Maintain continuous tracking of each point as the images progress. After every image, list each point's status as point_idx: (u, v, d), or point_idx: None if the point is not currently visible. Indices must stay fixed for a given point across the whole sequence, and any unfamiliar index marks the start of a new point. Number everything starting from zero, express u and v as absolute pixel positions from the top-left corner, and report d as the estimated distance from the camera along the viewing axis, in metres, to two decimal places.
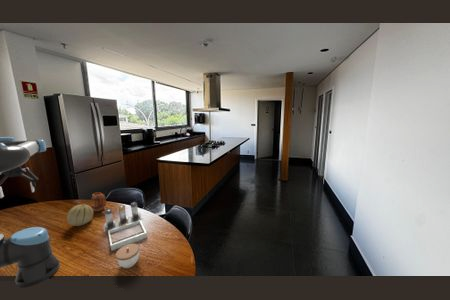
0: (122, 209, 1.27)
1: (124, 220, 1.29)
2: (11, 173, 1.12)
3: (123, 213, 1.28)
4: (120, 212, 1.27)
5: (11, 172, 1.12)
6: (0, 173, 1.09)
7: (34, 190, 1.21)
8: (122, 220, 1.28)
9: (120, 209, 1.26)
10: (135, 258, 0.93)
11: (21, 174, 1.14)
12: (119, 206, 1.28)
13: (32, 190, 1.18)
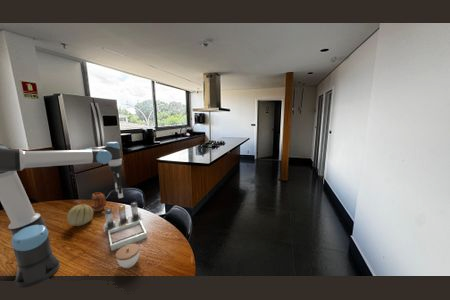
0: (122, 209, 1.27)
1: (124, 220, 1.29)
2: None
3: (123, 213, 1.28)
4: (120, 212, 1.27)
5: (114, 174, 1.23)
6: None
7: (122, 197, 1.21)
8: (122, 220, 1.28)
9: (120, 209, 1.26)
10: (135, 258, 0.93)
11: (115, 178, 1.20)
12: (119, 206, 1.28)
13: (118, 196, 1.20)
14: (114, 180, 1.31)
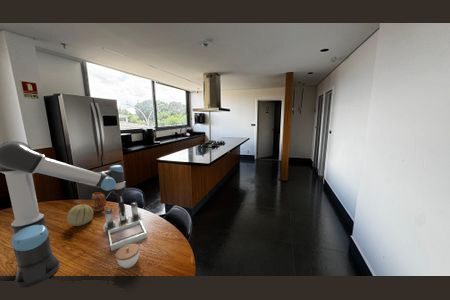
0: None
1: (124, 220, 1.29)
2: None
3: None
4: None
5: None
6: None
7: (125, 218, 1.28)
8: (122, 220, 1.28)
9: None
10: (135, 258, 0.93)
11: (118, 201, 1.24)
12: (119, 206, 1.28)
13: (121, 218, 1.27)
14: None
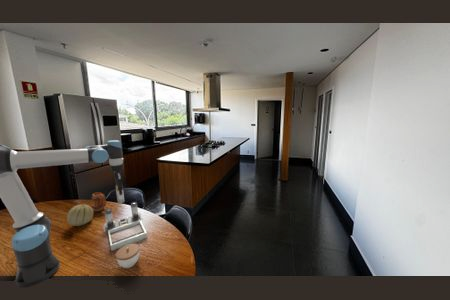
0: None
1: (122, 200, 1.21)
2: None
3: None
4: None
5: (115, 173, 1.19)
6: None
7: (123, 198, 1.21)
8: (120, 200, 1.21)
9: None
10: (135, 258, 0.93)
11: (116, 179, 1.17)
12: None
13: None
14: (116, 184, 1.23)
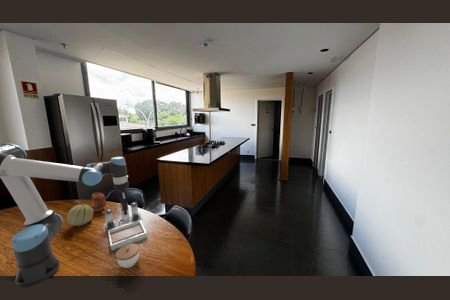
0: None
1: (127, 220, 1.14)
2: None
3: None
4: None
5: None
6: None
7: (128, 218, 1.13)
8: (125, 220, 1.13)
9: None
10: (135, 258, 0.93)
11: (120, 198, 1.09)
12: (121, 204, 1.13)
13: (123, 217, 1.12)
14: (120, 203, 1.16)
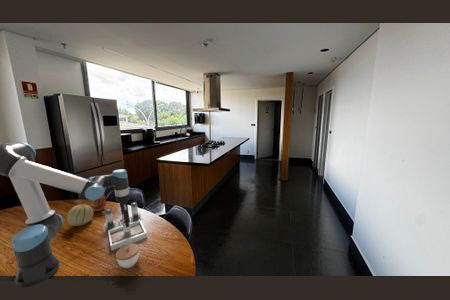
0: None
1: (128, 233, 1.15)
2: (121, 204, 1.12)
3: None
4: (124, 225, 1.13)
5: (121, 204, 1.12)
6: None
7: None
8: (127, 234, 1.15)
9: None
10: (135, 258, 0.93)
11: (122, 210, 1.10)
12: (123, 218, 1.15)
13: (125, 230, 1.11)
14: (121, 211, 1.19)
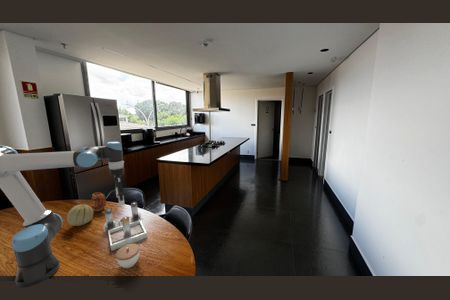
0: (126, 221, 1.13)
1: (128, 233, 1.16)
2: (115, 179, 1.09)
3: (127, 225, 1.14)
4: (124, 224, 1.13)
5: (115, 178, 1.09)
6: None
7: (124, 204, 1.07)
8: (126, 234, 1.15)
9: (124, 221, 1.13)
10: (135, 258, 0.93)
11: (115, 183, 1.06)
12: (123, 218, 1.15)
13: (119, 203, 1.06)
14: (115, 185, 1.17)
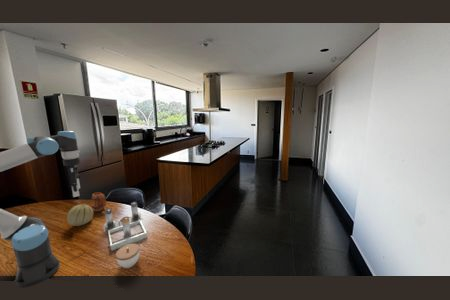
0: (126, 221, 1.14)
1: (128, 233, 1.16)
2: None
3: (127, 225, 1.14)
4: (124, 224, 1.13)
5: (70, 168, 1.05)
6: None
7: (78, 195, 1.03)
8: (127, 234, 1.15)
9: (124, 221, 1.13)
10: (135, 258, 0.93)
11: (69, 173, 1.02)
12: (123, 218, 1.15)
13: (73, 194, 1.02)
14: None
